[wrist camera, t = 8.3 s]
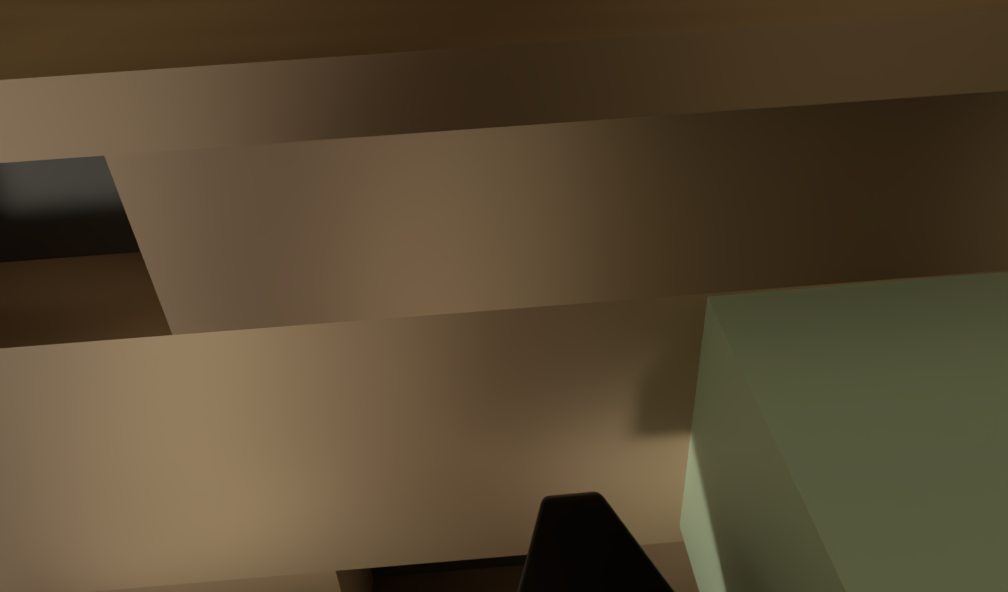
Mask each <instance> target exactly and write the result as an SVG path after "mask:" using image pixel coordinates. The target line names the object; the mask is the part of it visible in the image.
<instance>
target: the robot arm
mask: <svg viewBox="0 0 1008 592" xmlns="http://www.w3.org/2000/svg"><path fill="white" fill-rule="evenodd" d="M518 592H675V591H674V590H673V589H672V587H671V586H670V585H669V583H668V582H667V581H666V579H665V578H664V577H663V575H662V574H661V573H660V571H659V570H658V569H657V567H656V566H655V565H654V563H653V562H652V561H651V559H650V558H649V557H648V555H647V554H646V552H645V551H644V550H643V548H642V547H641V546H640V544H639V543H638V542H637V540H636V539H635V538H634V536H633V535H632V534H631V532H630V531H629V530H628V528H627V527H626V526H625V524H624V523H623V522H622V520H621V519H620V518H619V516H618V515H617V514H616V512H615V511H614V510H613V508H612V507H611V506H610V504H609V503H608V501H607V500H606V499H605V498H604V496H603V495H601V494H600V493H599V492H596V491H592V492H581V493H571V494H560V495H550V496H546V497H544V498H543V499H542V501H541V504H540V507H539V511H538V515H537V519H536V523H535V527H534V530H533V534H532V538H531V542H530V546H529V549H528V553H527V557H526V561H525V565H524V569H523V572H522V576H521V580H520V584H519V588H518Z"/></svg>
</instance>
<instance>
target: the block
mask: <svg viewBox="0 0 1008 592" xmlns="http://www.w3.org/2000/svg"><path fill="white" fill-rule="evenodd" d="M680 529H681V533H682V536H683V539H684V543H685V546H686V549H687V553H688V556H689V559H690V563H691V566H692V569H693V573H694V576H695V579H696V583H697V586H698V589H699V592H1008V272H1000V273H988V274H976V275H964V276H952V277H940V278H928V279H916V280H903V281H891V282H879V283H867V284H855V285H843V286H831V287H819V288H807V289H795V290H783V291H771V292H759V293H746V294H734V295H722V296H710V297H707V304H706V313H705V321H704V329H703V337H702V345H701V354H700V362H699V370H698V378H697V386H696V395H695V403H694V411H693V419H692V428H691V436H690V444H689V452H688V460H687V469H686V477H685V485H684V493H683V501H682V510H681V518H680Z"/></svg>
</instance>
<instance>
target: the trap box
mask: <svg viewBox="0 0 1008 592" xmlns="http://www.w3.org/2000/svg"><path fill="white" fill-rule="evenodd" d="M1000 272H1008V0H0V592H518V588H519V584H520V580H521V576H522V572H523V569H524V565H525V561H526V557H527V553H528V549H529V546H530V542H531V538H532V534H533V530H534V527H535V523H536V519H537V515H538V511H539V507H540V504H541V501H542V499H543V498H544V497H546V496H550V495H560V494H571V493H581V492H592V491H596V492H599V493H600V494H601V495H603V496H604V498H605V499H606V500H607V501H608V503H609V504H610V506H611V507H612V508H613V510H614V511H615V512H616V514H617V515H618V516H619V518H620V519H621V520H622V522H623V523H624V524H625V526H626V527H627V528H628V530H629V531H630V532H631V534H632V535H633V536H634V538H635V539H636V540H637V542H638V543H639V544H640V546H641V547H642V548H643V550H644V551H645V552H646V554H647V555H648V557H649V558H650V559H651V561H652V562H653V563H654V565H655V566H656V567H657V569H658V570H659V571H660V573H661V574H662V575H663V577H664V578H665V579H666V581H667V582H668V583H669V585H670V586H671V587H672V589H673V590H674V591H675V592H699V589H698V586H697V583H696V579H695V576H694V573H693V569H692V566H691V563H690V559H689V556H688V553H687V549H686V546H685V543H684V539H683V536H682V533H681V529H680V518H681V510H682V501H683V493H684V485H685V477H686V469H687V460H688V452H689V444H690V436H691V428H692V419H693V411H694V403H695V395H696V386H697V378H698V370H699V362H700V354H701V345H702V337H703V329H704V321H705V313H706V304H707V297H710V296H722V295H734V294H746V293H759V292H771V291H783V290H795V289H807V288H819V287H831V286H843V285H855V284H867V283H879V282H891V281H903V280H916V279H928V278H940V277H952V276H964V275H976V274H988V273H1000Z"/></svg>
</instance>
